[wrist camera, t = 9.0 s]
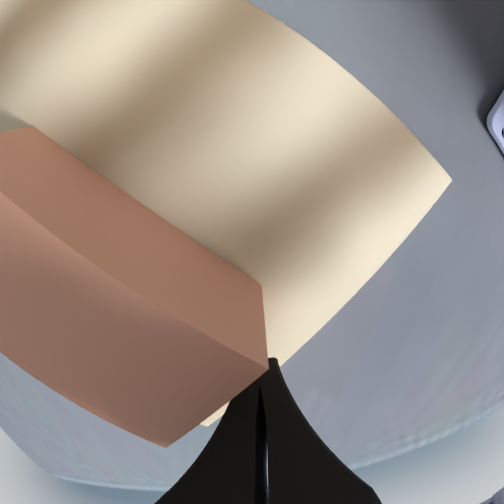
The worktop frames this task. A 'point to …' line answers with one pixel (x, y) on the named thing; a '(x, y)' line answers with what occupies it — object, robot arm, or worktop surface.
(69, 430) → the worktop surface
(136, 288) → the pink channel block
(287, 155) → the board
